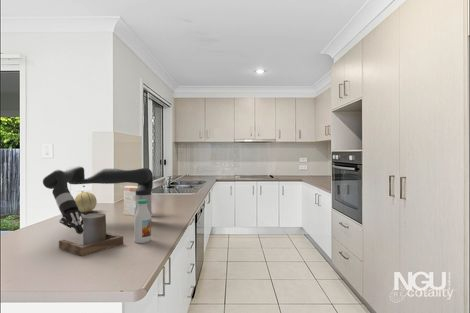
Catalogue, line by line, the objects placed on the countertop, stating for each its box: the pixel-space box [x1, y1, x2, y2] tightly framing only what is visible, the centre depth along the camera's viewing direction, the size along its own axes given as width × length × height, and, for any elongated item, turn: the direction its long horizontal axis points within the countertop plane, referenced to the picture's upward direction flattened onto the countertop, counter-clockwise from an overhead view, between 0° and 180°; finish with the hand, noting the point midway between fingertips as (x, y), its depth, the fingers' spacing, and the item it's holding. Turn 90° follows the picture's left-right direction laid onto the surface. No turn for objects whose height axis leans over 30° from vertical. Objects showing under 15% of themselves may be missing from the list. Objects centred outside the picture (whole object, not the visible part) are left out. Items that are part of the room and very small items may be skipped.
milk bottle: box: [133, 199, 152, 244], centre depth 144 cm, size 8×8×20 cm
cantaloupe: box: [74, 190, 98, 213], centre depth 212 cm, size 15×15×15 cm
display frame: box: [58, 231, 124, 257], centre depth 136 cm, size 18×20×4 cm
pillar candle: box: [82, 212, 107, 246], centre depth 138 cm, size 10×10×15 cm
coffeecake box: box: [123, 185, 138, 217], centre depth 205 cm, size 15×7×20 cm, turn 58°
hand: (80, 232), depth 140 cm, fingers closed
